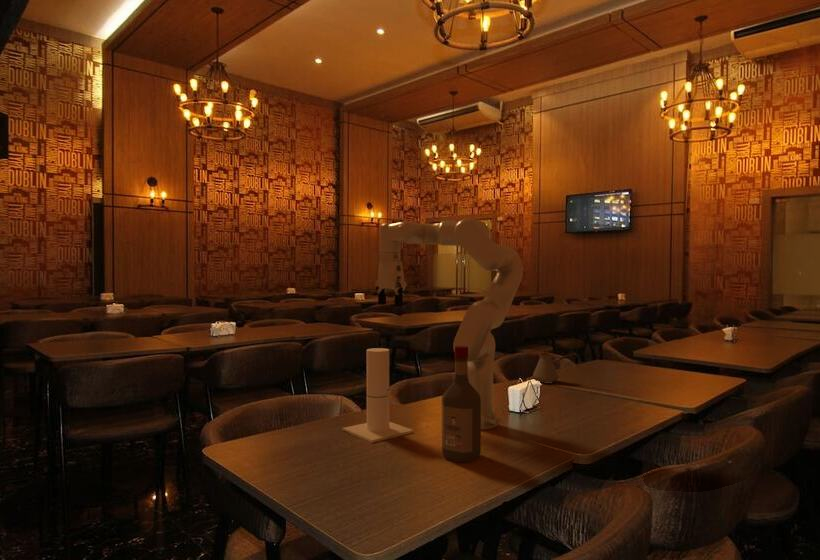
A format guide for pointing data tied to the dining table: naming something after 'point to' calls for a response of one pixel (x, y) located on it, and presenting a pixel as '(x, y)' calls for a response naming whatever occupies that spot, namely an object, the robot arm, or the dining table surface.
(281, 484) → the dining table surface
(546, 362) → the coffee pot
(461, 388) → the liquor
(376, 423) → the cylindrical container
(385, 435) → the mat
